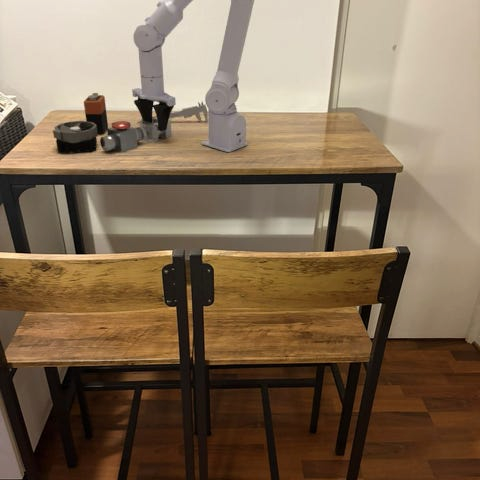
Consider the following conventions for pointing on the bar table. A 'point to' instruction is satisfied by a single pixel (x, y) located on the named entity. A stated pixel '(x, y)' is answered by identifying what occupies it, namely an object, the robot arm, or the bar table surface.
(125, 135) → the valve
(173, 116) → the caliper
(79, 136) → the cpu cooler
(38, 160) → the bar table surface
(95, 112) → the battery
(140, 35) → the robot arm
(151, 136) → the coupling
